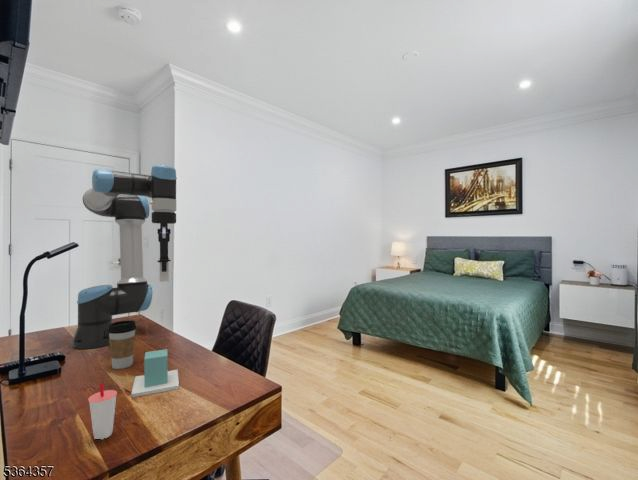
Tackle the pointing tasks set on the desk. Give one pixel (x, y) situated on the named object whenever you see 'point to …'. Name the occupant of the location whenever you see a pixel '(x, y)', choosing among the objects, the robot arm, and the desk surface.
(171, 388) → the post stand
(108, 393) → the cup
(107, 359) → the desk surface
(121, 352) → the coffee cup
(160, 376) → the teal rectangular block
